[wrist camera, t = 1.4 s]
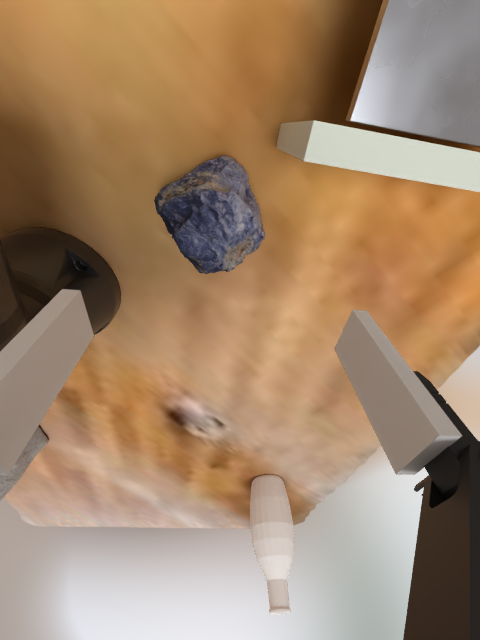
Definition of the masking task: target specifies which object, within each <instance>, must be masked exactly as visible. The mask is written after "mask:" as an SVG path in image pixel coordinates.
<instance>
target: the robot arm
mask: <svg viewBox="0 0 480 640" xmlns="http://www.w3.org/2000/svg"><path fill="white" fill-rule="evenodd" d="M120 302H121V293H120V287H119V284H118V281H117V279H116V277H115V275H114V273H113V271H112V270H111V268H110V267H109V266H108V264H107V263H106V262H105V261H104V260H103V258H102V257H101V256H100V255H98V254H97V253H96V252H95V251H94V250H93V249H91V248H90V247H89V246H87V245H86V244H84V243H83V242H81V241H79V240H78V239H76V238H74V237H72V236H70V235H67V234H65V233H62V232H59V231H56V230H52V229H46V228H24V229H20V230H17V231H14V232H12V233H10V234H8V235H6V236H4V237H2V238H0V475H8V474H9V472H10V471H11V469H12V468H13V466H14V464H15V463H16V461H17V460H18V458H19V456H20V455H21V453H22V451H23V450H24V448H25V447H26V445H27V443H28V442H29V440H30V439H31V437H32V435H33V434H34V432H35V431H36V429H37V427H38V426H39V424H40V422H41V421H42V419H43V418H44V416H45V414H46V413H47V411H48V410H49V408H50V406H51V405H52V403H53V402H54V400H55V398H56V397H57V395H58V393H59V392H60V390H61V389H62V387H63V385H64V384H65V382H66V381H67V379H68V377H69V376H70V374H71V373H72V371H73V369H74V368H75V366H76V364H77V363H78V361H79V360H80V358H81V356H82V355H83V353H84V352H85V350H86V348H87V347H88V345H89V344H90V342H91V340H92V339H93V337H94V335H95V334H97V333H99V332H100V331H102V330H103V329H104V328H106V327H107V326H108V325H109V323H110V322H111V321H112V319H113V318H114V316H115V314H116V313H117V311H118V309H119V306H120ZM335 351H336V353H337V355H338V357H339V359H340V361H341V363H342V365H343V367H344V369H345V371H346V374H347V376H348V378H349V380H350V382H351V384H352V386H353V388H354V390H355V392H356V394H357V396H358V398H359V400H360V402H361V404H362V406H363V408H364V410H365V412H366V414H367V416H368V418H369V420H370V422H371V425H372V427H373V429H374V431H375V433H376V435H377V437H378V439H379V441H380V443H381V445H382V447H383V449H384V451H385V453H386V455H387V457H388V459H389V461H390V463H391V465H392V467H393V469H394V471H395V473H396V475H397V474H416V473H418V472H419V471H420V470H421V469H422V468H424V467H425V469H426V470H427V472H428V474H429V476H427V477H426V478H425V479H424V480H422V481H421V482H420V483H418V484H417V485H416V486H415V488H414V490H415V491H416V492H417V491H419V490H420V489H421V488H423V487H424V491H423V494H422V496H423V499H422V506H421V513H420V521H419V528H418V536H417V543H416V550H415V558H414V565H413V573H412V580H411V587H410V594H409V602H408V609H407V616H406V624H405V631H404V639H403V640H480V441H478V440H477V439H476V438H475V437H474V436H473V434H472V433H471V432H470V431H469V430H468V428H467V427H466V426H465V424H464V423H463V422H462V421H461V419H460V418H459V417H458V416H457V415H456V413H455V412H454V411H453V410H452V408H451V407H450V406H449V404H446V401H445V400H444V398H443V397H442V396H441V395H440V394H438V393H439V392H438V391H437V389H436V388H435V387H434V386H433V384H432V383H431V382H430V381H429V380H428V379H427V378H425V377H424V376H423V375H422V374H420V373H419V372H417V371H412V369H411V368H410V367H409V365H408V364H407V363H406V361H405V360H404V359H403V358H402V356H401V355H400V354H399V352H398V351H397V350H396V348H395V347H394V346H393V344H392V343H391V342H390V341H389V339H388V338H387V337H386V335H385V334H384V333H383V331H382V330H381V329H380V327H379V326H378V325H377V324H376V322H375V321H374V320H373V318H372V317H371V316H370V314H369V313H368V312H367V311H361V310H352V312H351V315H350V317H349V319H348V321H347V323H346V325H345V327H344V330H343V332H342V334H341V336H340V338H339V340H338V343H337V345H336V347H335Z"/></svg>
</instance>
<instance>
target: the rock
mask: <svg viewBox="0 0 480 640" xmlns="http://www.w3.org/2000/svg"><path fill="white" fill-rule="evenodd" d="M248 178H249V177H248V174H247V172H246V170H245V169H244V168H243V166H242V165H240V164H238V163H237V161H236V160H234V159H233V158H231V157H229V156H221V157H219V158H217V159H213V160H208V161H206V162H204V163H202V164H201V165H199V166H197V167H196V168H195V169H194V170H193V171H191V172H190V173H188V174H186V175H185V176H184V177H183V178H181V179H180V180H178V181H175V182H173V183H170V184H168V185H167V186H165V187H163V188H162V189H161V190H160V192H159V193H158V195H157V196H156V197H155V200H154V201H155V205H156V210H157V213H158V214H159V215H160V216H161V217H162V218H163V221H164V222H165V225H166V227H167V230H168V232H169V233H170V234H172V235H173V236H172V238H173V239H174V240H175V242H176V243H177V245H178V247H179V249H180V252H181V253H182V254H183V255H184V257H185V258H187V259H189V261H190V262H191V263H192V264H193V265H194V266H195V268H196V269H197V270H198V271H199V273H205V274H208V273H215V272H218V271H226V272H228V271H230V270H232V269H234V268H235V267H236V266H237V265H238V264H240V263H242V262H243V259H244V258H245V257H246V255H248V254H250V253H252V252H254V251H256V250H257V249H258V248H259V246H260V243H261V241H262V240H263V239H264V238H265V232H264V230H263V225H262V222H261V214H260V209H259V205H258V203H257V202H256V199H255V198H254V195H253V193H252V191H251V189H250V185H249V183H248ZM195 264H196V265H195Z"/></svg>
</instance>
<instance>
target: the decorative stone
mask: <svg viewBox="0 0 480 640" xmlns="http://www.w3.org/2000/svg"><path fill="white" fill-rule="evenodd" d="M47 443H48V439H47V437H46V436H45V434H44V433H43V432H42V430H41V429H40V428H39V426H38V427H37V429H36V431H35V432H34V434H33V435H32V437H31V439H30V440H29V442H28V443H27V445H26V447H25V448H24V450H23V451H22V453H21V455H20V456H19V458H18V460H17V461H16V463H15V464H14V466H13V468H12V469H11V471H10V472H9V474H8V475H0V500H1V499H2V498H3V497H4V496H5V495H6V494H7V493H8V492H9V491H10V489H11V488H12V487H13V486H14V485H15V484H16V483H17V481H18V480H19V479H20V478H21V477H22V475H23V473H24V472H25V471H26V469H27V468H28V466H29V464H30V463H31V462H32V460H33V459H34V457H35V456H36V455H37V454H38V453H39V452H40V451H41V450H42V449H43V448H44V447H45V446H46V444H47Z"/></svg>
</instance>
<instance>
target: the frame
mask: <svg viewBox="0 0 480 640" xmlns="http://www.w3.org/2000/svg"><path fill="white" fill-rule="evenodd" d="M276 148H277V149H279V150H281V151H283V152H285V153H287V154H290V155H292V156H294V157H296V158H298V159H300V160H302V161H305V162H311V163H317V164H323V165H328V166H334V167H340V168H345V169H351V170H357V171H363V172H368V173H374V174H380V175H385V176H391V177H397V178H402V179H408V180H414V181H420V182H425V183H431V184H437V185H442V186H448V187H454V188H460V189H465V190H471V191H477V192H480V152H475V151H470V150H465V149H460V148H455V147H449V146H444V145H439V144H434V143H429V142H424V141H418V140H413V139H408V138H403V137H398V136H393V135H387V134H382V133H377V132H372V131H367V130H362V129H357V128H351V127H346V126H341V125H336V124H331V123H326V122H320V121H315V120H311V121H300V122H289V123H281V125H280V130H279V135H278V140H277V146H276Z"/></svg>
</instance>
